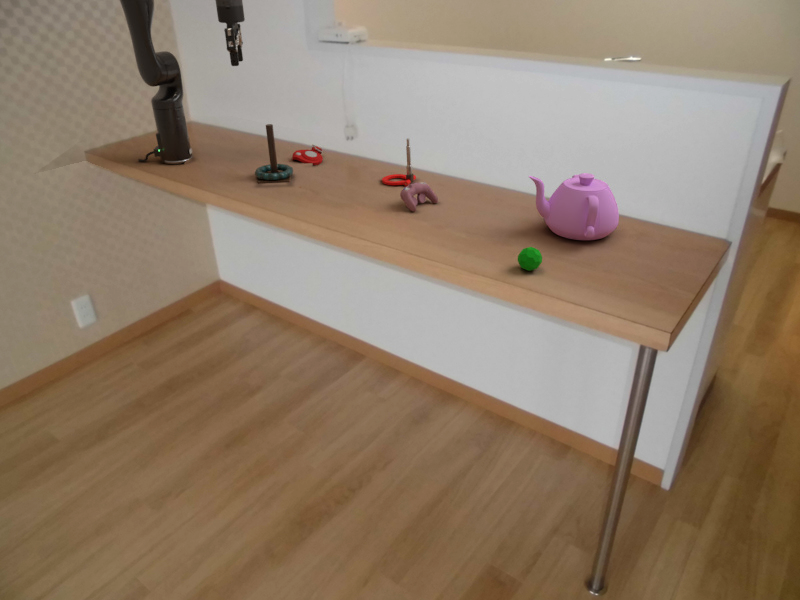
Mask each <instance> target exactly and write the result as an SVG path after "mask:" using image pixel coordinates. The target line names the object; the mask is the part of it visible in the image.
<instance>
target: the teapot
mask: <svg viewBox="0 0 800 600" xmlns="http://www.w3.org/2000/svg"><path fill="white" fill-rule="evenodd" d="M528 178H529V179H531V181H532V182H533V184H534V185H535V188H536V189H535V190H536V193H535V207H536V210H537V212H538V213H539V215H540V216H541V217H542V218H543V220H544V223H545V225H546V226H547V227H548V228H549V229H550V231H551V232H552V233H554V234H555V235H558V236H560V237H562V238H565V239H569V240H576V241H595V240H601V239H604V238H605V237H608V235H610V234H611V233H613V232H614V231H615V230H616V229H617V227H618V226H619V221H620V212H619V206H618V203H617V200H616V198H615V196H614V193H613V191H612V189H611V188H610V186H609V184H608V183H607V182H606V181H604V180H601V179H598V178H595V174H593V173H589V172H583V173H579V174H573V175H572V177H570V178H569V177H568V178H566V179H565V180H563V181H562V182H561V183H560V184H559V186H558V187H556V189H555V190H554V192H552V194H551V196H550V197H549V199H548V200H547V199H546V197H545V184H544V182H543V180H542V179H541V178H539V177H535V176H532V175H528Z"/></svg>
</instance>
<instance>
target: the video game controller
mask: <svg viewBox="0 0 800 600" xmlns="http://www.w3.org/2000/svg"><path fill="white" fill-rule="evenodd" d="M415 195H417V196H416V197H415ZM399 196H400V199H401V201H402V202H403V203H404V204H405V206H406V208H407V209H408V210H409V211H411V212H414V213H415V212H416V211H417V205H418V204H424V203H425V202H426V200H427V199H428V200H429V201H430V202H431V203H434V204H437V203H438V202H439V198H438V196H437V194H436V193H435V191H433V189H432V188H431V186H430V185H429V184H428V183H426V182H425V181H424V182H421V181H420V182H419V181H417V182H412V183H411V184H409V185H408V186H404V188H403V189H401V191H400V193H399ZM426 198H427V199H426Z"/></svg>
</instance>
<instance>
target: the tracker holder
mask: <svg viewBox="0 0 800 600" xmlns="http://www.w3.org/2000/svg"><path fill="white" fill-rule="evenodd" d="M322 154H324V151H323V149H322V147H320V146H317V145H315V144H311V149H298V150H295V151H294V152H293V153H292V157H291V161H293V162H294V161H295V160H297V161H299V162H301V163H303V164H312V166H319V165H321V164H322V162H323V160H324V159H323V158H324V157H323V155H322Z"/></svg>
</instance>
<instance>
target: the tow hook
mask: <svg viewBox="0 0 800 600" xmlns="http://www.w3.org/2000/svg"><path fill="white" fill-rule="evenodd" d="M405 148H406V149H405V150H406V152H405V153H406V165H405V166H406V167H405V168H406V174H403V173H402V174H401V173H397V174H388V175H386V176H383V177H382V178H381V182H382V184H384V185H387V186H404V187H407V186H408V185H410V184H412V183H414V181H415V180H416V179H417V176H416V175H415V174H414V173H413V165H412V150H411V143H410V138H406V146H405ZM392 179H402V180H396V181H394V180H392Z"/></svg>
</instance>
